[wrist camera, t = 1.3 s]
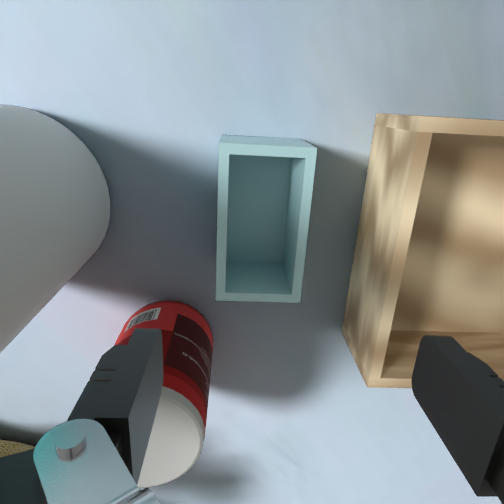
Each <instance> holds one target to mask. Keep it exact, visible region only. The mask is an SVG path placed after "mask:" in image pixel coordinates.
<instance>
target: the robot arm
mask: <svg viewBox="0 0 504 504" xmlns="http://www.w3.org/2000/svg"><path fill="white" fill-rule="evenodd" d="M162 386H163V348H162V331H161V329H152V328H135V329H134V331H133V333H132V336H131V338H130V340H129V342H128V344H127V345H115V346H113V347H112V348H111V349H110V350H108V351H107V352H106V353H105V354H104V355H102V357H101V359H100V361H99V363H98V364H97V366H96V369H95V371H94V372H93V374H92V376H91V377H90V381H88V383H87V385H86V387H85V388H84V390H83V392H82V394H81V396H80V398H79V400H78V401H77V403H76V405H75V407H74V409H73V411H72V413H71V414H70V416H69V418H68V420H67V422H64V423H62V424H59V425H57V426H56V427H54V428H52V429H51V430H49V431H48V432H47V433H46V434H45V435H44V436H43V437H42V438H41V439H40V440H39V441H38V443H37V445H36V447H35V448H33V449H30V450H27V451H24V452H20V453H16V454H12V455H8V456H4V457H0V504H160V502H159V501H158V499H157V497H156V496H155V494H154V493H153V492H152V491H151V490H150V489H149V488H145V489H144V490H142V491H141V490H140V489H139V488H138V486H137V484H138V481H139V477H140V473H141V469H142V465H143V461H144V458H145V454H146V450H147V446H148V442H149V438H150V434H151V431H152V427H153V423H154V419H155V415H156V411H157V408H158V404H159V400H160V396H161V392H162ZM412 390H413V393H414V396H415V398H416V399H417V401H418V403H419V404H420V406H421V407H422V409H423V411H424V412H425V414H426V415H427V417H428V419H429V420H430V422H431V423H432V425H433V427H434V428H435V430H436V431H437V433H438V435H439V436H440V438H441V439H442V441H443V443H444V444H445V446H446V447H447V449H448V451H449V452H450V454H451V455H452V457H453V459H454V460H455V462H456V463H457V465H458V467H459V468H460V470H461V471H462V473H463V475H464V476H465V478H466V479H467V481H468V483H469V484H470V486H471V487H472V489H473V491H474V492H475V494H476V495H477V496H498V498H499V499H500V501H501V502H502V503H501V504H504V381H503V380H502V379H501V378H498V375H497V374H496V373H495V372H494V371H493V370H492V369H491V368H490V367H489V366H488V365H487V364H486V363H485V362H483V361H482V360H480V359H479V358H477V357H476V356H474V355H472V354H471V353H469V352H466V351H465V350H464V349H463V348H462V346H461V345H460V344H459V343H458V342H457V341H456V340H455V339H454V338H453V337H451V336H443V335H425V336H423V337H422V339H421V341H420V344H419V349H418V353H417V357H416V361H415V365H414V369H413V374H412Z"/></svg>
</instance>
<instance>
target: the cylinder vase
mask: <svg viewBox="0 0 504 504" xmlns="http://www.w3.org/2000/svg"><path fill="white" fill-rule="evenodd" d="M109 220H110V196H109V190H108V186H107V183H106V180H105V177H104V174H103V172H102V170H101V168H100V166H99V164H98V162H97V161H96V159H95V157H94V156H93V154H92V153H91V152H90V150H89V149H88V148H87V147H86V145H85V144H84V143H83V142H82V141H81V140H80V139H79V138H78V137H77V136H76V135H75V134H74V133H72V132H71V131H70V130H69V129H68V128H66V127H65V126H63V125H62V124H60V123H59V122H57V121H56V120H54V119H52V118H50V117H48V116H46V115H44V114H42V113H39V112H37V111H34V110H31V109H28V108H24V107H19V106H13V105H2V104H0V353H1V352H2V351H3V350H4V348H5V347H6V346H7V345H8V344H9V343H10V342H11V341H12V340H13V339H14V338H15V337H16V336H17V335H18V334H19V333H20V332H21V331H22V329H23V328H24V327H25V326H26V325H27V324H28V323H29V322H30V321H31V320H32V319H33V318H34V317H35V316H36V315H37V314H38V313H39V312H40V310H41V309H42V308H43V307H44V306H45V305H46V304H47V303H48V302H49V301H50V300H51V299H52V298H53V297H54V296H55V295H56V294H57V292H58V291H59V290H60V289H61V288H62V287H63V286H64V285H65V284H66V283H67V282H68V281H69V280H70V279H71V278H72V277H73V276H74V275H75V273H76V272H77V271H78V270H79V269H80V268H81V267H82V266H83V265H84V264H85V263H86V262H87V261H88V260H89V259H90V258H91V257H92V255H93V254H94V253H95V252H96V251H97V249H98V248H99V246H100V245H101V243H102V241H103V239H104V237H105V235H106V232H107V229H108V225H109Z"/></svg>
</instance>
